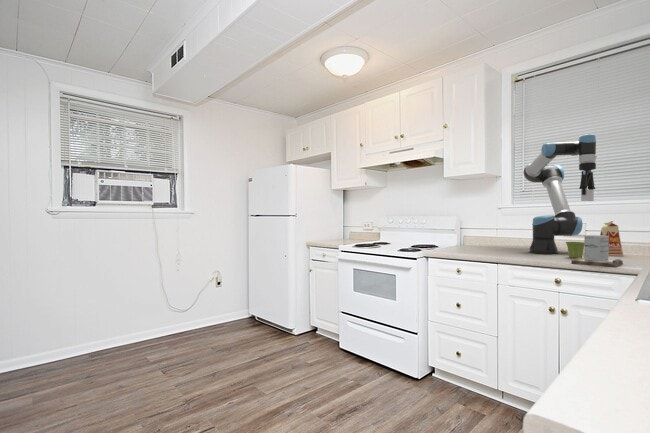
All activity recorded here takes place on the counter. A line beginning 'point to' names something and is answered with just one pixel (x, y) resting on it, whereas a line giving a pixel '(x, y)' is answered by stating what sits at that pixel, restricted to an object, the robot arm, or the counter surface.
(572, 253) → the plant pot
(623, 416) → the counter surface
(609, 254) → the milk carton
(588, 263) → the brown square frame
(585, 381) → the counter surface
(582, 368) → the counter surface
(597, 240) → the supplement box
